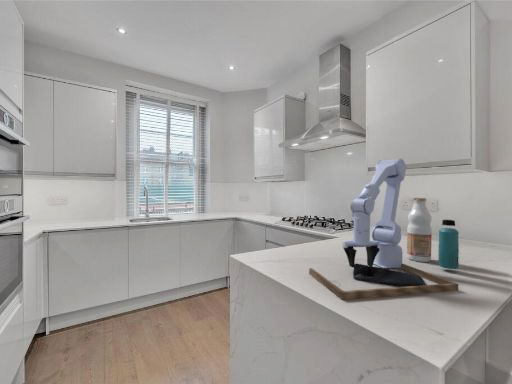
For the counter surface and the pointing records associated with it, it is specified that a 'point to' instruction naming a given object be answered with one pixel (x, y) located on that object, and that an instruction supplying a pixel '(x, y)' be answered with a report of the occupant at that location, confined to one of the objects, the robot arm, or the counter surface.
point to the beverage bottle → (448, 246)
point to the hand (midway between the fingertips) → (360, 266)
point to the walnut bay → (368, 293)
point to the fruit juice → (419, 232)
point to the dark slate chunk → (386, 276)
